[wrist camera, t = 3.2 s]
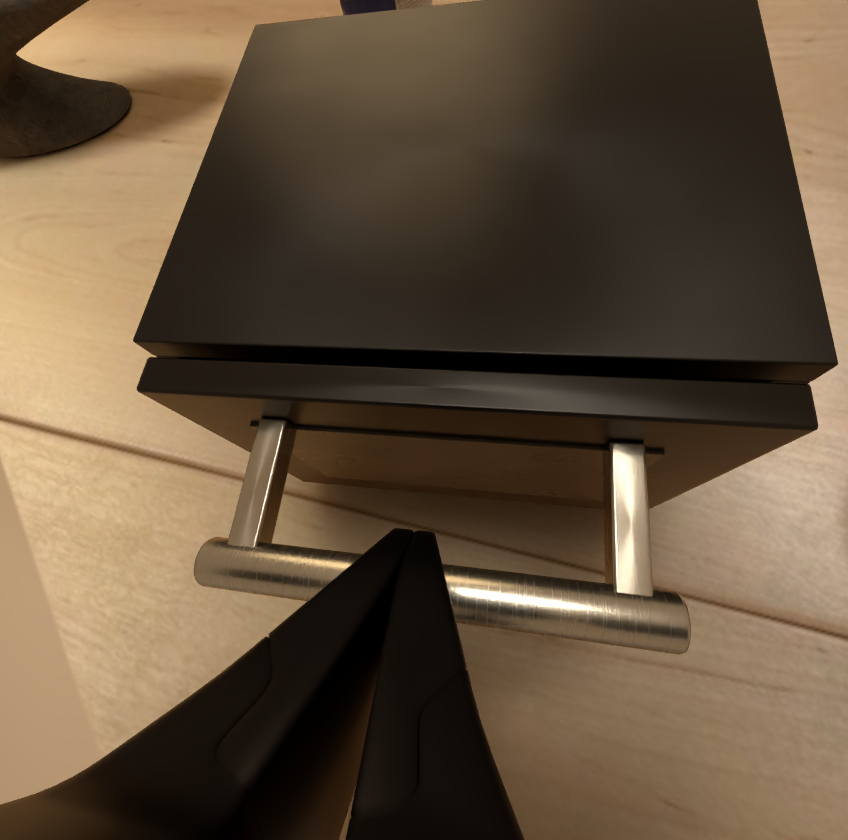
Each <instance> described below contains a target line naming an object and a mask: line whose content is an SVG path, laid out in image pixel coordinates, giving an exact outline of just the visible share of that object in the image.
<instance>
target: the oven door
mask: <svg viewBox="0 0 848 840" xmlns="http://www.w3.org/2000/svg"><path fill="white" fill-rule="evenodd" d="M137 391H138V392H140V393H142V394H144V395H145V396H147V397H149V398H151V399H153V400H155V401H156V402H158V403H160V404H162V405H164V406H166V407H168V408H169V409H171V410H173V411H175V412H177V413H179V414H180V415H182V416H184V417H186V418H188V419H190V420H191V421H193V422H195V423H197V424H199V425H201V426H203V427H204V428H206V429H208V430H210V431H212V432H214V433H215V434H217V435H219V436H221V437H223V438H225V439H226V440H228V441H230V442H232V443H234V444H236V445H238V446H239V447H241V448H243V449H245V450H247V451H249V452H250V453H251V455H250V458H249V462H248V466H247V470H246V474H245V478H244V481H243V485H242V489H241V493H240V497H239V501H238V505H237V508H236V512H235V516H234V520H233V524H232V528H231V531H230V535H229V538H222V537H214V538H211V539H209V540H208V541H206V542H205V543H204V544H203V546H202V547H201V549H200V550H199V552H198V554H197V557H196V560H195V565H194V576H195V579H196V581H197V582H198V583H199V584H200V585H201V586H204V587H211V588H218V589H225V590H232V591H239V592H246V593H253V594H260V595H267V596H274V597H281V598H288V599H295V600H302V601H309V600H310V599H311V598H312V597H313V596H314V595H316V594H317V593H318V592H319V591H320V590H322V589H323V588H324V587H325V586H326V585H327V584H329V583H330V582H331V581H332V580H333V579H335V578H336V577H337V576H338V575H339V574H341V573H342V572H343V571H344V570H345V569H346V568H348V567H349V566H350V565H351V564H352V563H354V562H355V561H356V560H357V559H358V558H360V557H361V556H362V555H363V554H355V553H347V552H339V551H330V550H322V549H314V548H306V547H297V546H289V545H281V544H272V539H273V534H274V530H275V526H276V521H277V517H278V512H279V508H280V504H281V499H282V495H283V490H284V486H285V482H286V477H287V473H289V474H291V475H293V476H295V477H296V478H298V479H300V480H302V481H304V482H315V483H326V484H337V485H348V486H359V487H370V488H381V489H392V490H403V491H414V492H425V493H435V494H446V495H457V496H468V497H479V498H490V499H501V500H512V501H523V502H534V503H545V504H556V505H567V506H577V507H588V508H599V509H604V541H605V583H597V582H589V581H580V580H572V579H564V578H555V577H547V576H539V575H530V574H522V573H514V572H505V571H497V570H489V569H480V568H472V567H464V566H455V565H447V564H442V566H443V570H444V574H445V578H446V583H447V587H448V591H449V595H450V599H451V604H452V608H453V612H454V616H455V620H456V623H463V624H469V625H476V626H483V627H490V628H497V629H504V630H511V631H518V632H525V633H532V634H539V635H546V636H553V637H560V638H567V639H574V640H581V641H588V642H595V643H602V644H609V645H616V646H623V647H630V648H637V649H644V650H651V651H658V652H665V653H672V654H683V653H685V652H686V651H687V649H688V647H689V643H690V635H691V626H690V618H689V613H688V609H687V606H686V603H685V601H684V599H683V598H682V597H681V595H679V594H678V593H676V592H672V591H663V590H655V589H653V581H652V563H651V544H650V525H649V509H651V508H653V507H655V506H657V505H659V504H661V503H663V502H665V501H667V500H670V499H672V498H674V497H676V496H678V495H680V494H682V493H684V492H686V491H689V490H691V489H693V488H695V487H697V486H699V485H701V484H703V483H705V482H707V481H710V480H712V479H714V478H716V477H718V476H720V475H722V474H724V473H726V472H729V471H731V470H733V469H735V468H737V467H739V466H741V465H743V464H745V463H748V462H750V461H752V460H754V459H756V458H758V457H760V456H762V455H764V454H766V453H769V452H771V451H773V450H775V449H777V448H779V447H781V446H783V445H785V444H788V443H790V442H792V441H794V440H796V439H798V438H800V437H802V436H804V435H807V434H809V433H811V432H813V431H815V430H817V428H818V422H817V416H816V411H815V406H814V401H813V396H812V391H811V387H810V385H808V384H799V383H774V382H750V381H725V380H700V379H675V378H651V377H626V376H601V375H577V374H552V373H527V372H503V371H478V370H453V369H428V368H404V367H379V366H354V365H330V364H305V363H280V362H256V361H231V360H206V359H181V358H157V357H150V358H148V359H147V362H146V364H145V367H144V370H143V372H142V375H141V378H140V381H139V383H138V386H137Z"/></svg>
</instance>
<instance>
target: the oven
mask: <svg viewBox="0 0 848 840" xmlns="http://www.w3.org/2000/svg"><path fill="white" fill-rule="evenodd" d="M133 341H134V342H135V343H136V344H138V345H139V346H141V347H142V348H144V349H145V350H147V351H148V352H150V353H151V354H153V355H156V356H157V357H158V358H181V359H206V360H231V361H256V362H280V363H305V364H330V365H354V366H379V367H404V368H428V369H453V370H478V371H503V372H527V373H552V374H577V375H601V376H626V377H651V378H675V379H700V380H725V381H750V382H774V383H799V384H808V383H810V381H813V380H815V379H816V378H818V377H819V376H821V375H823V374H824V373H826V372H827V371H829V370H830V369H832V368H834V367H835V366H837V365H838V360H837V356H836V351H835V347H834V342H833V338H832V333H831V329H830V324H829V320H828V315H827V311H826V306H825V302H824V297H823V293H822V288H821V284H820V279H819V275H818V270H817V266H816V261H815V257H814V253H813V248H812V244H811V239H810V235H809V230H808V226H807V221H806V217H805V212H804V208H803V203H802V199H801V194H800V190H799V185H798V181H797V176H796V172H795V167H794V163H793V158H792V154H791V149H790V145H789V140H788V136H787V131H786V127H785V122H784V118H783V113H782V109H781V104H780V100H779V95H778V91H777V86H776V82H775V77H774V73H773V68H772V64H771V59H770V55H769V50H768V46H767V41H766V37H765V33H764V28H763V24H762V19H761V15H760V10H759V6H758V1H757V0H482V1H472V2H463V3H454V4H445V5H435V6H426V7H417V8H408V9H399V10H389V11H380V12H371V13H362V14H352V15H343V16H334V17H325V18H316V19H306V20H297V21H288V22H279V23H269V24H260V25H255V27H254V30H253V33H252V35H251V38H250V40H249V43H248V45H247V48H246V51H245V53H244V56H243V58H242V61H241V63H240V66H239V69H238V71H237V74H236V76H235V79H234V81H233V84H232V87H231V89H230V92H229V94H228V97H227V99H226V102H225V105H224V107H223V110H222V112H221V115H220V117H219V120H218V123H217V125H216V128H215V130H214V133H213V135H212V138H211V141H210V143H209V146H208V148H207V151H206V154H205V156H204V159H203V161H202V164H201V166H200V169H199V172H198V174H197V177H196V179H195V182H194V184H193V187H192V190H191V192H190V195H189V197H188V200H187V202H186V205H185V208H184V210H183V213H182V215H181V218H180V220H179V223H178V226H177V228H176V231H175V233H174V236H173V238H172V241H171V244H170V246H169V249H168V251H167V254H166V256H165V259H164V262H163V264H162V267H161V269H160V272H159V275H158V277H157V280H156V282H155V285H154V287H153V290H152V293H151V295H150V298H149V300H148V303H147V305H146V308H145V311H144V313H143V316H142V318H141V321H140V323H139V326H138V329H137V331H136V334H135V336H134V339H133Z"/></svg>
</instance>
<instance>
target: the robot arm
mask: <svg viewBox="0 0 848 840" xmlns="http://www.w3.org/2000/svg"><path fill="white" fill-rule="evenodd" d="M356 783H357V784H356ZM355 787H356V789H355ZM354 790H355V794H354V800H353V805H352V810H351V819H350V821H349V826H348V831H347V836H346V840H524V837H523V835H522V832H521V830H520V827H519V824H518V822H517V819H516V816H515V814H514V811H513V809H512V806H511V803H510V801H509V798H508V795H507V793H506V790H505V787H504V785H503V782H502V780H501V777H500V774H499V772H498V769H497V766H496V764H495V761H494V758H493V756H492V753H491V750H490V747H489V744H488V741H487V738H486V735H485V732H484V729H483V726H482V723H481V720H480V717H479V713H478V709H477V706H476V702H475V698H474V695H473V691H472V687H471V683H470V678H469V674H468V671H467V670H466V663H465V658H464V654H463V650H462V646H461V642H460V637H459V633H458V629H457V625H456V620H455V616H454V612H453V608H452V604H451V599H450V595H449V591H448V587H447V583H446V578H445V574H444V570H443V566H442V562H441V557H440V553H439V549H438V545H437V541H436V536H435V534H434V533H433V532H428V531H419V530H418V531H415V532H414V531H413V530H410V529H401V528H395V529H393V530H392V531H390V532H389V533H388V534H387V535H386V536H384V537H383V538H382V539H381V540H380V541H378V542H377V543H376V544H375V545H374V546H373V547H371V548H370V549H369V550H368V551H367V552H365V553H364V554H363V555H362V556H361V557H360V558H358V559H357V560H356V561H355V562H354V563H352V564H351V565H350V566H349V567H348V568H346V569H345V570H344V571H343V572H342V573H341V574H339V575H338V576H337V577H336V578H335V579H333V580H332V581H331V582H330V583H329V584H327V585H326V586H325V587H324V588H323V589H322V590H320V591H319V592H318V593H317V594H316V595H314V596H313V597H312V598H311V599H310V600H309V601H307V602H306V603H305V604H304V605H303V606H301V607H300V608H299V609H298V610H297V611H295V612H294V613H293V614H292V615H291V616H290V617H288V618H287V619H286V620H285V621H284V622H282V623H281V624H280V625H279V626H278V627H277V628H275V629H274V630H273V631H272V632H271V633H270V634H269V638H268V637H264V638H263V639H262V640H261V641H260V642H258V643H257V644H256V645H255V646H254V647H253V648H251V649H250V650H249V651H248V652H247V653H245V654H244V655H243V656H242V657H240V658H239V659H238V660H237V661H235V662H234V663H233V664H232V665H230V666H229V667H228V668H227V669H225V670H224V671H223V672H222V673H220V674H219V675H218V676H216V677H215V678H214V679H212V680H211V681H210V682H208V683H207V684H206V685H204V686H203V687H202V688H200V689H199V690H197V691H196V692H195V693H193V694H192V695H191V696H189V697H188V698H187V699H185V700H184V701H182V702H181V703H180V704H178V705H177V706H175V707H174V708H173V709H171V710H170V711H168V712H167V713H165V714H164V715H163V716H161V717H160V718H158V719H157V720H156V721H154V722H153V723H151V724H150V725H149V726H147V727H146V728H144V729H143V730H142V731H140V732H139V733H137V734H136V735H135V736H133V737H132V738H130V739H129V740H127V741H126V742H125V743H123V744H122V745H120V746H119V747H118V748H116V749H115V750H113V751H112V752H111V753H109V754H108V755H106V756H105V757H103V758H102V759H100V760H99V761H97V762H96V763H95V764H93V765H91V766H90V767H88V768H87V769H85V770H83V771H82V772H80V773H78V774H77V775H75V776H73V777H71V778H69V779H67V780H65V781H63V782H61V783H59V784H57V785H55V786H53V787H51V788H48V789H46V790H43V791H41V792H39V793H36V794H33V795H30V796H27V797H24V798H21V799H18V800H14V801H11V802H8V803H4V804H2V805H0V840H339V837H340V834H341V830H342V827H343V824H344V821H345V818H346V815H347V812H348V808H349V805H350V802H351V799H352V796H353V793H354Z"/></svg>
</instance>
